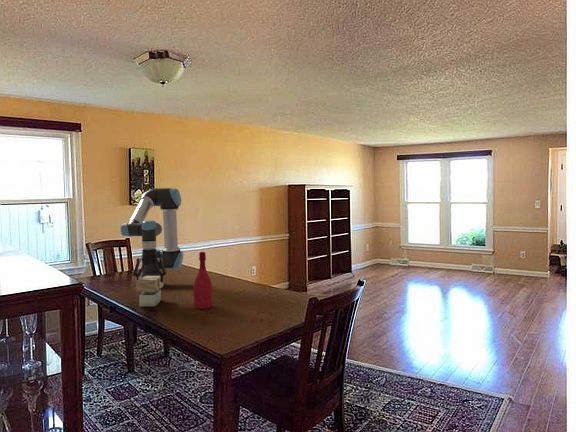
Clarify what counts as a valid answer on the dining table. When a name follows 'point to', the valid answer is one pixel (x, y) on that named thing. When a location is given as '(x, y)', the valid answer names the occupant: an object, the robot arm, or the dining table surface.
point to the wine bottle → (202, 286)
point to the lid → (148, 284)
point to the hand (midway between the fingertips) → (150, 288)
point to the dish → (150, 298)
